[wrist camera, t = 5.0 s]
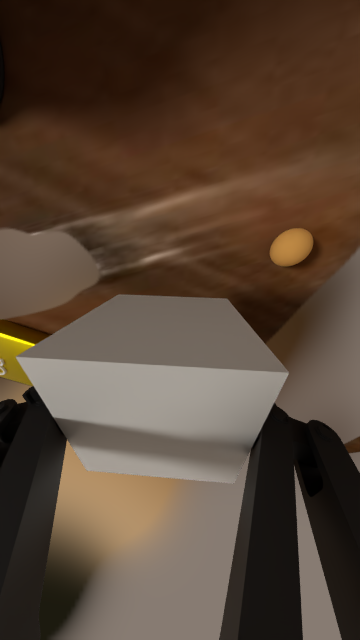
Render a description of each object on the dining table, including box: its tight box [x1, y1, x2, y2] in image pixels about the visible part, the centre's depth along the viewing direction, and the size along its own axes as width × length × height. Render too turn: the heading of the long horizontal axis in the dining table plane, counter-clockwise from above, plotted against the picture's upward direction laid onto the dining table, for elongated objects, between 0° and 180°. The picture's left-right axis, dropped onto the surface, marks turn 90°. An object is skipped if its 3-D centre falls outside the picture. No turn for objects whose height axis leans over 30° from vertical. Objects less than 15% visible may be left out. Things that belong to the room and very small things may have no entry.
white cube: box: [16, 295, 289, 483], centre depth 11 cm, size 10×10×9 cm
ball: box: [270, 228, 313, 267], centre depth 21 cm, size 5×5×5 cm
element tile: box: [0, 319, 51, 386], centre depth 34 cm, size 15×15×5 cm
